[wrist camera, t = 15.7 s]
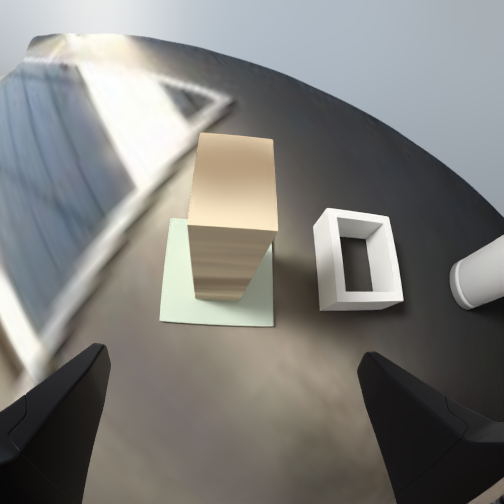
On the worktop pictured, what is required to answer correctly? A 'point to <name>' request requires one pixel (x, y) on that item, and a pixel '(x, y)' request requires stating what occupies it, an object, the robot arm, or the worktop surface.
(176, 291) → the mat
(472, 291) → the travel mug
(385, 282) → the holder box
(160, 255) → the worktop surface
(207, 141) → the tall tan tower
